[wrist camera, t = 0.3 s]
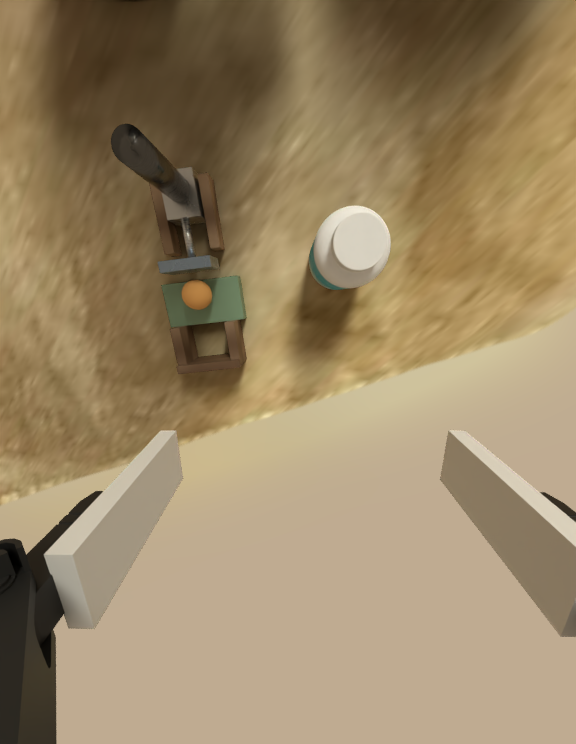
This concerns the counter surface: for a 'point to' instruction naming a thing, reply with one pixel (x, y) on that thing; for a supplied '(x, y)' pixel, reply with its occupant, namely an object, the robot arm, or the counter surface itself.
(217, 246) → the guide
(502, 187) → the counter surface
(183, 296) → the ball
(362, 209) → the pill bottle
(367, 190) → the counter surface
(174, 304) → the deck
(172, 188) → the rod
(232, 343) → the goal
